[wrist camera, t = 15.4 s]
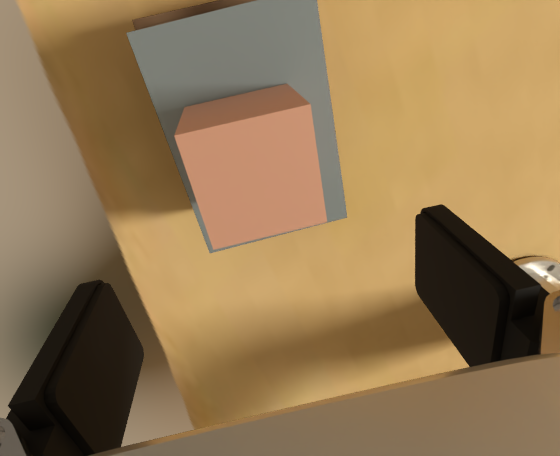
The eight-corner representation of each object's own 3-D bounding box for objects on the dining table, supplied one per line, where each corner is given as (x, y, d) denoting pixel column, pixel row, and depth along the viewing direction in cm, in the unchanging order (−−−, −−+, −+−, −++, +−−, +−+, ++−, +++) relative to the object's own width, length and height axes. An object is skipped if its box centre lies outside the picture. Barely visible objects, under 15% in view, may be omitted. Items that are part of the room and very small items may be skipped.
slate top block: (298, -8, 23) (314, -15, 19) (330, 192, 30) (347, 217, 26) (142, 31, 23) (126, 32, 19) (211, 223, 30) (209, 253, 26)
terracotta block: (287, 83, 21) (310, 104, 16) (303, 178, 24) (327, 221, 19) (184, 107, 21) (174, 135, 16) (213, 200, 24) (213, 249, 19)
